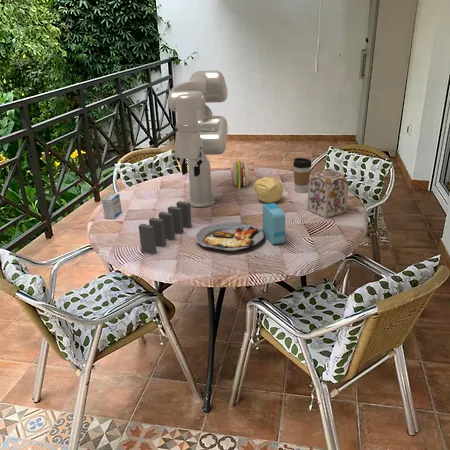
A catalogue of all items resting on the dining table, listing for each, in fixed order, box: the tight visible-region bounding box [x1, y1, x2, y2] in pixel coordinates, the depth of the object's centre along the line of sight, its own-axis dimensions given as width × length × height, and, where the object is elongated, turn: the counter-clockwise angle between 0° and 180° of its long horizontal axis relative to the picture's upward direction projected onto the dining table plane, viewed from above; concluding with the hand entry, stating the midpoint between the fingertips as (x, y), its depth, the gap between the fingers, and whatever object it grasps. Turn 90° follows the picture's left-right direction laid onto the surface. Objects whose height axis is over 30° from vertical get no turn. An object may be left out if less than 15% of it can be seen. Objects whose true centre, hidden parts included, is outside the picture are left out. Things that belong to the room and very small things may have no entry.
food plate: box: [195, 221, 266, 252], centre depth 166 cm, size 25×23×4 cm
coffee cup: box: [292, 157, 312, 194], centre depth 209 cm, size 8×8×15 cm
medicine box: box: [101, 192, 123, 220], centre depth 190 cm, size 8×4×9 cm, turn 168°
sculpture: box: [253, 176, 284, 204], centre depth 200 cm, size 12×12×11 cm
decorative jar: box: [307, 168, 349, 219], centre depth 185 cm, size 12×12×18 cm
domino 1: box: [138, 223, 157, 255], centre depth 157 cm, size 2×5×10 cm, turn 63°
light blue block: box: [262, 202, 286, 245], centre depth 163 cm, size 12×4×12 cm, turn 14°
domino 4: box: [167, 206, 184, 235], centre depth 172 cm, size 2×5×10 cm, turn 63°
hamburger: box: [232, 158, 251, 190], centre depth 220 cm, size 12×8×12 cm
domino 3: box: [158, 211, 176, 241], centre depth 167 cm, size 2×5×10 cm, turn 63°
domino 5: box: [175, 200, 192, 229], centre depth 176 cm, size 2×5×10 cm, turn 63°
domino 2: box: [148, 217, 167, 248], centre depth 162 cm, size 2×5×10 cm, turn 63°
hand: (190, 174), depth 176 cm, fingers open, 4 cm apart
